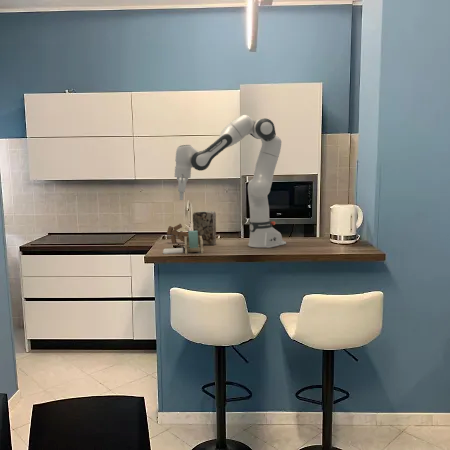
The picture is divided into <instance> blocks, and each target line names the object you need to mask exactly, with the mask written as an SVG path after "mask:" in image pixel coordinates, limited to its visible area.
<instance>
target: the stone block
mask: <svg viewBox="0 0 450 450" xmlns="http://www.w3.org/2000/svg"><path fill="white" fill-rule="evenodd" d="M216 216H217V214H216V211H213V210H212V211H210V210H207V211H206V210H205V211H203V210H201V211H200V210H198V211H193V214H192V224H193V225H192V231H197V232H198V236H202V239H203V246H204V245H205V246H206V245H207V246H209V245H210V246H211V245H212V246H214V245H216V244H217V220H216V219H217V217H216Z"/></svg>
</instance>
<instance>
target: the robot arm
mask: <svg viewBox="0 0 450 450" xmlns="http://www.w3.org/2000/svg"><path fill="white" fill-rule="evenodd" d="M275 128H276V127H275V123H274V122H273V121H272V120H271V119H270V118H259V119H257V120H254V119H253V118H252V117H251V116H249V115H248V114H242V115H240V116H238V117H237V118H235V119H234V120H232V121H230V123H227V125H226V126H225V127H224V128H223V129H222V130H221V132H220V134H219V136H218V138H217V139H216V140H215V141H214V142H212V144H210V145H209V146H208V147H206V148H205V149H203V150H198V149H196V148H195V147H193V146H192V145H191V144H183V145H179V146H178V147H177V148H176V152H175V166H174V177H175V178H176V181H178V187H177V188H178V189H177V190H178V191H177V192H179V201H183V199H184V193H185V192H186V187H187V182H188V181H189V179H191V174H192V168H193V169H194V170H196V171H205V170H206V169H208V168H209V166H210V165H211V162H212V161H213V160H214V158H215V157H217V156H218V155H219V154H220V153H221V152H223V151H224V150H226V149H227V148H230V147H232V146H234V145H236V144H237V143H239V142H240V141H242V140H243V139H244V138H245V137H246V136H248V135H250V136H252V137H253V138H255V139H257V140H260V141H261V147H260V150H259V153H258V156H257V160H256V163H255V167H254V173H253V178H252V179H250V180H249V182H248V184H247V195H248V206H249V220H250V221H249V240H248V244H247V247H250V248H268V249H269V248H275V247H279V246H282V245H287V241H285V240H283V236H282V234H281V232H280V231H278V230H277V229H275V228H274V227H273V226H275V225H276V221H271V220H270V205H269V199H268V198H269V197H268V195H269V194H270V192H271V188H272V184H273V180H274V174H275V171H276V166H277V164H278V160H279V158H280V154H281V148H282V140H281V138H280V137H279V136H277V135H276V134H277V133H276V129H275Z"/></svg>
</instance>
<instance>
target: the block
mask: <svg viewBox="0 0 450 450" xmlns="http://www.w3.org/2000/svg"><path fill="white" fill-rule="evenodd" d="M187 233H189V248H198V232H197V231H193V230H187Z"/></svg>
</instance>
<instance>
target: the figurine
mask: <svg viewBox="0 0 450 450" xmlns="http://www.w3.org/2000/svg"><path fill="white" fill-rule="evenodd" d="M182 228H183V225H182V224H181V223H179V224H177V225H175V226H174V227H173V226H172V225H169V226H168V228H167V230H166V231H167V232H166V235H169V236H170V239H171V240H170V241H171V244H176V243H177V240H180V241H181V242H183V243H185V240H184V236H189V232H188V231H182V230H180V229H182ZM179 230H180V231H179Z"/></svg>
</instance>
